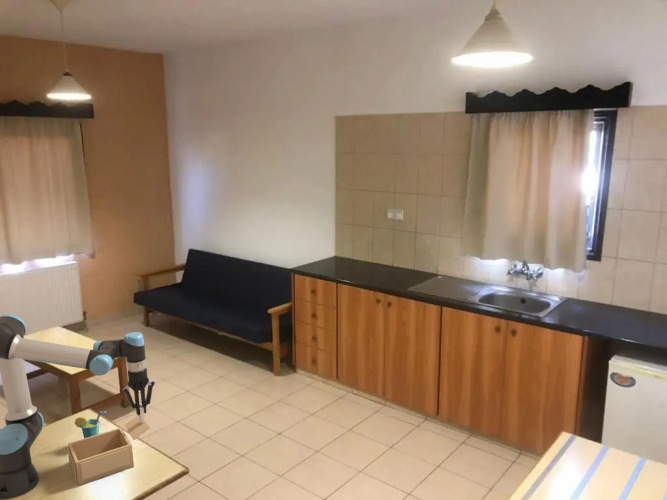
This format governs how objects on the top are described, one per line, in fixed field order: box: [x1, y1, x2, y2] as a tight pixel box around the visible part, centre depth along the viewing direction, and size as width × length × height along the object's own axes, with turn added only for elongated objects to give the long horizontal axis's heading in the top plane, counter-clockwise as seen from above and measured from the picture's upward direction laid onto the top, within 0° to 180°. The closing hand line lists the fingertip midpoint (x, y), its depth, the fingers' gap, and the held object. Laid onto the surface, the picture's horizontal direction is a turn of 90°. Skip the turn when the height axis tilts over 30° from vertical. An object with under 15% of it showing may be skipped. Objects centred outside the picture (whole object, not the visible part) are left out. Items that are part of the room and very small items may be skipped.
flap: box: [124, 415, 150, 441], centre depth 228 cm, size 8×14×1 cm, turn 34°
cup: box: [74, 411, 109, 439], centre depth 236 cm, size 14×8×15 cm, turn 113°
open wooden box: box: [66, 427, 135, 487], centre depth 221 cm, size 22×18×10 cm
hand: (142, 420), depth 229 cm, fingers closed
